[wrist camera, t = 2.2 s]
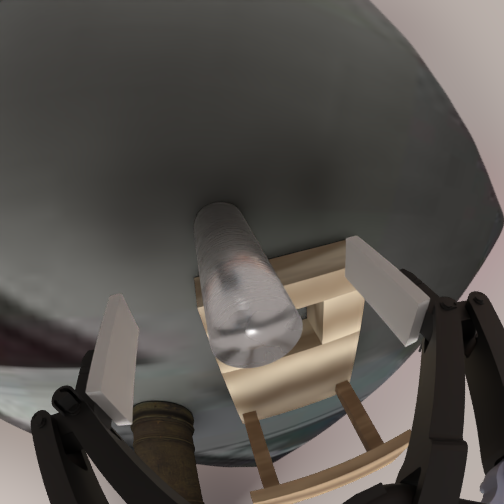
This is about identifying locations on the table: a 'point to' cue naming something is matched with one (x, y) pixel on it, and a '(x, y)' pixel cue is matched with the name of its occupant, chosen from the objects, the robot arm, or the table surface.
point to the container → (168, 446)
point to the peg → (241, 292)
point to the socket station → (310, 373)
